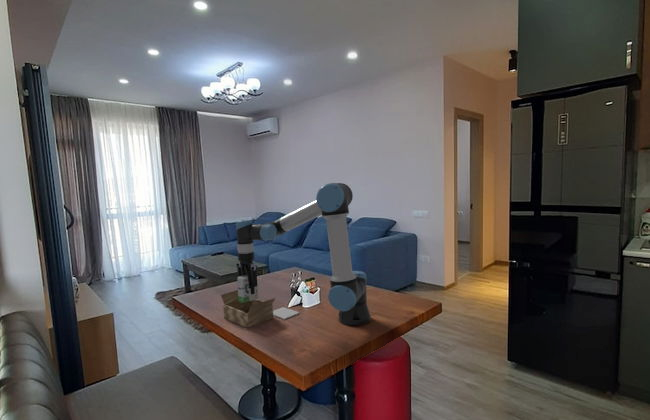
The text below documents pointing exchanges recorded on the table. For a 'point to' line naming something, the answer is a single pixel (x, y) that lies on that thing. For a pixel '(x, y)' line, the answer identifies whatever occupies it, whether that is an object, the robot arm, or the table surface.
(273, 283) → the table surface
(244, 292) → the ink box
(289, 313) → the felt mat
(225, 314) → the carton
